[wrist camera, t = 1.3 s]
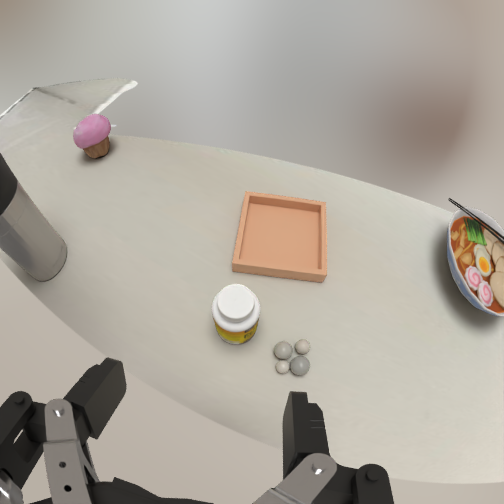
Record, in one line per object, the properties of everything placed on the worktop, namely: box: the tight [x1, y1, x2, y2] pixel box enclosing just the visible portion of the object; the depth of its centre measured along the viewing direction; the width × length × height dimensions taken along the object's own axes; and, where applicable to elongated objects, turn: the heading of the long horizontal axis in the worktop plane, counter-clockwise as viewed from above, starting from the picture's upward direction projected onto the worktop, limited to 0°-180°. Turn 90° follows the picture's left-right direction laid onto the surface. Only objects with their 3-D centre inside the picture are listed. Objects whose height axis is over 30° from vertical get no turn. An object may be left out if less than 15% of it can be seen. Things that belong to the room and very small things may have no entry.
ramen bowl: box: [447, 198, 504, 316], centre depth 40 cm, size 25×23×8 cm
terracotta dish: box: [232, 191, 327, 282], centre depth 45 cm, size 14×14×3 cm
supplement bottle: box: [212, 284, 260, 344], centre depth 34 cm, size 6×6×10 cm
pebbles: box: [274, 339, 310, 375], centre depth 35 cm, size 5×5×3 cm
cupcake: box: [73, 114, 111, 158], centre depth 52 cm, size 9×9×10 cm
